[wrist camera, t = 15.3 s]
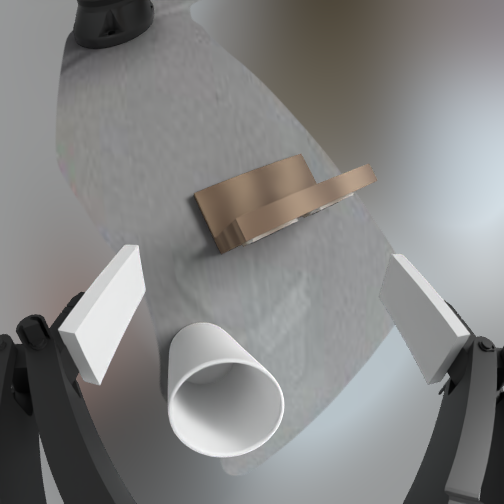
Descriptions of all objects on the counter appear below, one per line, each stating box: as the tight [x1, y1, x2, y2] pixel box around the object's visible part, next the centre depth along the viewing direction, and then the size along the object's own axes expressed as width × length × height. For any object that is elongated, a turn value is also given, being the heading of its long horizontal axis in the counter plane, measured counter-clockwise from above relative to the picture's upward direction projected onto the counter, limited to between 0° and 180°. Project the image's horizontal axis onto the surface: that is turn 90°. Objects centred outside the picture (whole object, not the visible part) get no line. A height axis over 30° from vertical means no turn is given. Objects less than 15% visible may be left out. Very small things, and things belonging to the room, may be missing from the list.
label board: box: [194, 154, 377, 254], centre depth 30 cm, size 16×8×12 cm, turn 117°
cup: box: [168, 323, 284, 457], centre depth 24 cm, size 8×8×16 cm
